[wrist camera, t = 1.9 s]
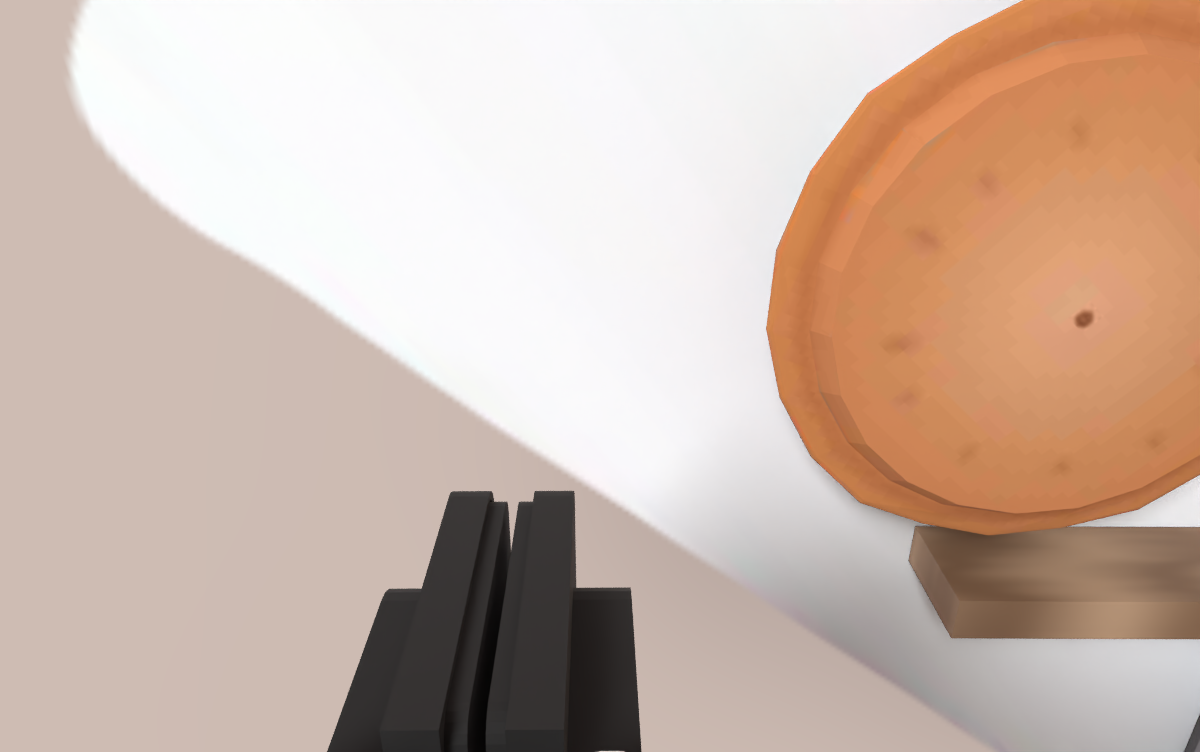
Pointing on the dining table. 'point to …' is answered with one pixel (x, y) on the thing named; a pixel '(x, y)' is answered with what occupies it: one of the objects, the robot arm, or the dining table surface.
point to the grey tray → (1194, 739)
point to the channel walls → (1063, 582)
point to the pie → (1006, 274)
